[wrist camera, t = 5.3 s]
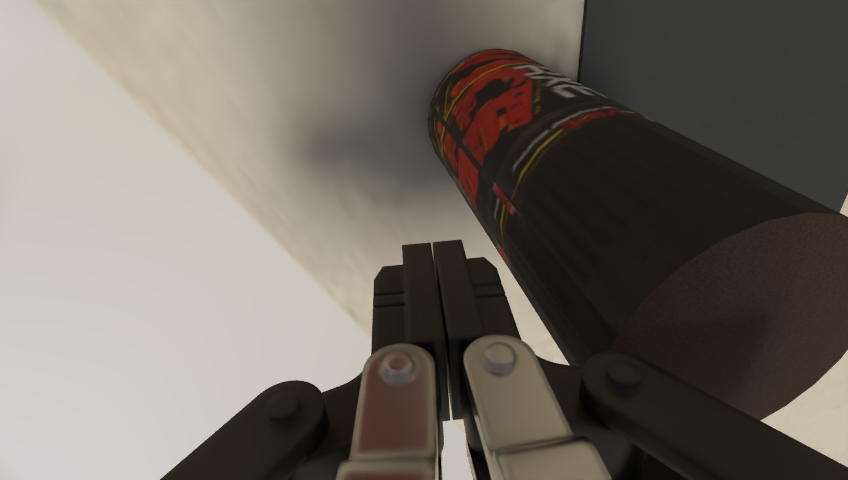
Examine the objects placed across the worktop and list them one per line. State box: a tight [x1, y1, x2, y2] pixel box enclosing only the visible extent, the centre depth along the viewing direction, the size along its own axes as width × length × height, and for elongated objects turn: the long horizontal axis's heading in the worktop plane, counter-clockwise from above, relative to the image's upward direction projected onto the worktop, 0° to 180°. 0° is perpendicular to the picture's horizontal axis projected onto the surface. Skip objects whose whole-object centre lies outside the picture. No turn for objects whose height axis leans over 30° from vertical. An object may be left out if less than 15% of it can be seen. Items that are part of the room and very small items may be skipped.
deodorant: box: [428, 49, 848, 421], centre depth 16 cm, size 6×6×15 cm
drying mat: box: [578, 0, 848, 212], centre depth 23 cm, size 20×15×1 cm
